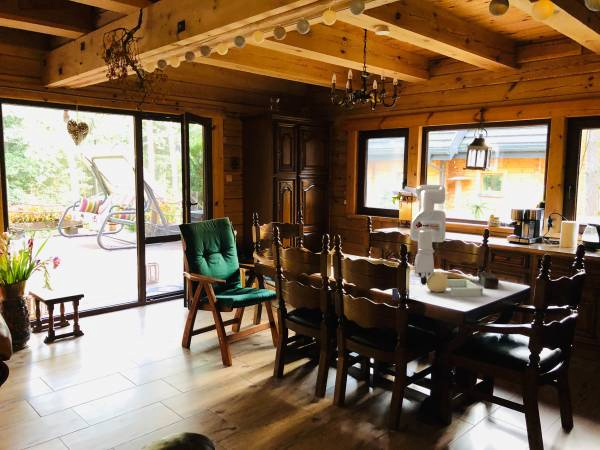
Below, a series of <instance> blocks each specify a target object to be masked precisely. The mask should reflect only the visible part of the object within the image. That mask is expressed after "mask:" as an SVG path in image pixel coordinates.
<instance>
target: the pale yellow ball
mask: <svg viewBox="0 0 600 450" xmlns="http://www.w3.org/2000/svg"><path fill="white" fill-rule="evenodd" d="M426 286H427V289H428V290H430V291H431V292H435V293H441V292H445V291H446V290H447V289H448V287H447V286H448V275H447V274H445V273H443V272H440V271H435V272H434V274H432V275H429V276H428V278H427V283H426Z"/></svg>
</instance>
